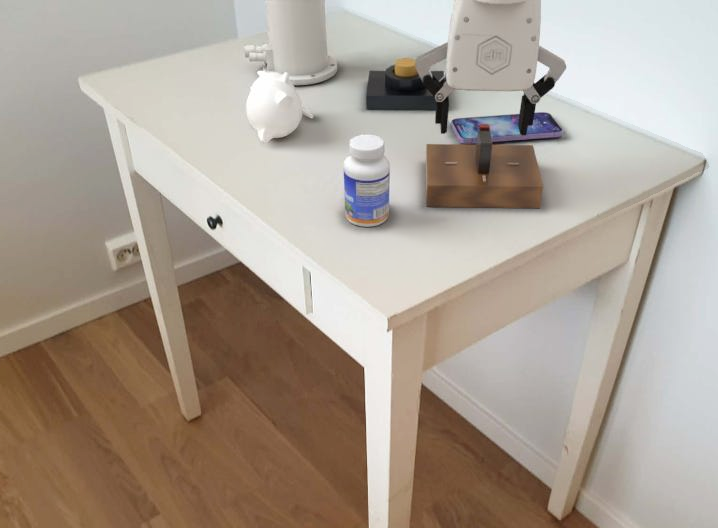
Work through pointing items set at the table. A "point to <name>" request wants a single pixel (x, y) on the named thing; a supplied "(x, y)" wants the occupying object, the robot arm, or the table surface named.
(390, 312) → the table surface
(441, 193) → the plate
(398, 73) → the bell button
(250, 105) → the cat figurine
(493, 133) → the smartphone
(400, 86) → the black stepped base
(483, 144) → the lock knob
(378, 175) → the pill bottle
